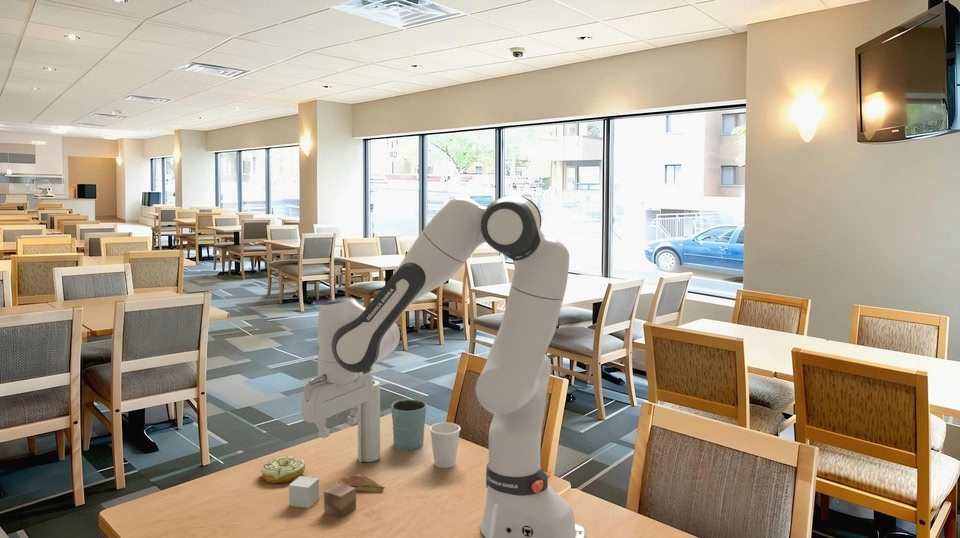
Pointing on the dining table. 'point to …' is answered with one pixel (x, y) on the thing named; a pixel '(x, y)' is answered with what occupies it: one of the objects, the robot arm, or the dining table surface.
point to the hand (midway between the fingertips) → (338, 430)
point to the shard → (361, 483)
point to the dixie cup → (445, 443)
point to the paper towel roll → (369, 427)
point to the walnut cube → (339, 500)
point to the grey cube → (304, 492)
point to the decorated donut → (283, 469)
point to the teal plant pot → (408, 423)
